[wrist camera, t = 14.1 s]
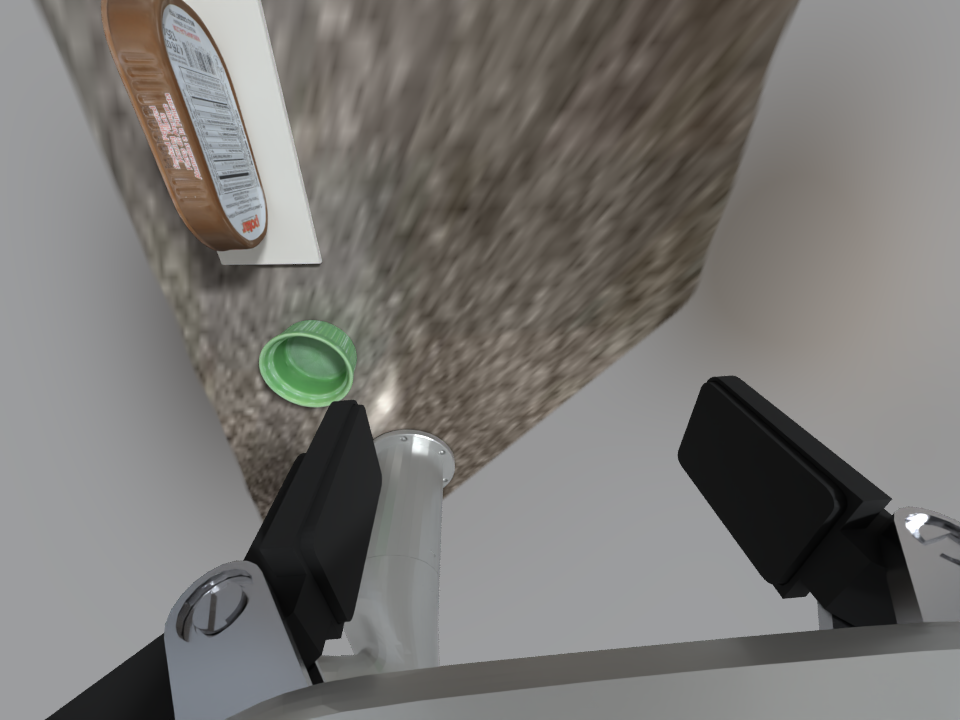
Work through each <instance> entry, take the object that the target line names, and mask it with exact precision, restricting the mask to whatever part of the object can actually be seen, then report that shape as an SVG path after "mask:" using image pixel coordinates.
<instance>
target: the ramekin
mask: <svg viewBox="0 0 960 720" xmlns="http://www.w3.org/2000/svg"><path fill="white" fill-rule="evenodd" d="M356 361H357V355H356V350H355V347H354V345H353V343H352V341H351V339H350V338H349V337H348V336H347V335H346V334H345V333H344V332H343V331H342V330H340V329H339V328H337V327H336V326H334V325H332V324H329V323H327V322H323V321H317V320H307V321H301V322H298V323H295V324H293V325H292V326H290V327H289V328H288V329H286V330H285V331H284V332H283V333H282V334H280V335H278V336H276V337H274V338H273V339H271V340H270V341H269V342H268V343H267V344H266V345H265V346H264V348H263V349H262V351H261V354H260V357H259V368H260V372H261V375H262V377H263V379H264V380H265V382H266V383H267V385H268V386H269V387H270V388H271V389H272V390H273V391H274V392H275V393H277V394H278V395H279V396H281V397H282V398H284V399H286V400H288V401H290V402H292V403H295V404H298V405H301V406H306V407H324V406H329V405H330V404H331V403H332V402H333V401H340V400H341V399H343V398H344V397H345V396H346V395H347V393H348V392H349V391H350V389H351V386H352V383H353V375H354V374H353V373H354V370H355V366H356Z"/></svg>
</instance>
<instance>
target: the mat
mask: <svg viewBox="0 0 960 720" xmlns="http://www.w3.org/2000/svg"><path fill="white" fill-rule="evenodd" d="M183 1H184V2H185V3H186V4H188V5H189V6H190V7H191V8H192V9H193V10H194V11H195V12H196V13H197V15H198V16H199V17H200V18H201V20H202V21H203V23H204V24H205V26H206V27H207V29H208V30H209V32H210V34H211V35H212V37H213V39H214V41H215V43H216V44H217V46H218V48H219V51H220V53H221V55H222V57H223V59H224V61H225V64H226V66H227V69H228V71H229V74H230V77H231V80H232V83H233V86H234V89H235V93H236V96H237V99H238V103H239V106H240V109H241V113H242V116H243V120H244V123H245V126H246V130H247V133H248V137H249V140H250V144H251V147H252V151H253V154H254V158H255V161H256V165H257V168H258V172H259V175H260V179H261V182H262V186H263V190H264V193H265V197H266V203H267V210H268V227H267V233H266V236H265V237H264V239H263V240H262V241H261V242H260V244H259V245H258V246H256V247H255V248H252V249H244V250H228V251H217V253H218V256H219V258H220V261H221V263H222V265H256V264H320V263H321V262H322V259H321V255H320V250H319V246H318V242H317V238H316V233H315V229H314V225H313V221H312V216H311V212H310V208H309V204H308V199H307V195H306V191H305V187H304V182H303V178H302V174H301V170H300V165H299V161H298V157H297V153H296V148H295V144H294V140H293V136H292V131H291V127H290V123H289V119H288V114H287V110H286V106H285V102H284V97H283V93H282V89H281V85H280V80H279V76H278V72H277V68H276V63H275V59H274V55H273V51H272V46H271V42H270V38H269V34H268V29H267V25H266V21H265V17H264V12H263V8H262V4H261V0H183Z"/></svg>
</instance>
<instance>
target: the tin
mask: <svg viewBox="0 0 960 720" xmlns="http://www.w3.org/2000/svg"><path fill="white" fill-rule="evenodd" d="M101 16H102V23H103V29H104V33H105V36H106V40H107V43H108V46H109V49H110V52H111V55H112V58H113V60H114V62H115V65H116V67H117V70H118V72H119V74H120V77H121V79H122V81H123V84H124V86H125V88H126V91H127V93H128V96H129V98H130V101H131V103H132V106H133V108H134V110H135V113H136V115H137V117H138V119H139V122H140V124H141V127H142V129H143V131H144V134H145V136H146V139H147V141H148V143H149V146H150V148H151V151H152V153H153V155H154V158H155V160H156V163H157V165H158V168H159V170H160V173H161V175H162V177H163V180H164V182H165V185H166V187H167V190H168V192H169V195H170V197H171V199H172V201H173V204H174V206H175V208H176V210H177V212H178V214H179V216H180V217H181V219H182V220H183V222H184V223H185V225H186V226H187V228H188V229H189V230H190V231H191V232H192V234H193V235H194V236H195V237H196V238H197V239H198V240H199V241H200V242H201V243H203V244H204V245H206V246H207V247H209V248H211V249H213V250H216V251H228V250H244V249H252V248H255V247H256V246H258V245H259V244H260V242H261V241H262V240H263V239H264V237H265V236H266V233H267V227H268V210H267V203H266V197H265V193H264V190H263V186H262V182H261V179H260V175H259V172H258V168H257V165H256V161H255V158H254V154H253V151H252V147H251V144H250V140H249V137H248V133H247V130H246V126H245V123H244V120H243V116H242V113H241V109H240V106H239V103H238V99H237V96H236V93H235V89H234V86H233V83H232V80H231V77H230V74H229V71H228V69H227V66H226V64H225V61H224V59H223V57H222V55H221V53H220V51H219V48H218V46H217V44H216V43H215V41H214V39H213V37H212V35H211V34H210V32H209V30H208V29H207V27H206V26H205V24H204V23H203V21H202V20H201V18H200V17H199V16H198V15H197V13H196V12H195V11H194V10H193V9H192V8H191V7H190V6H189V5H188V4H186V3H185V2H184V1H183V0H101Z"/></svg>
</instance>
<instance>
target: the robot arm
mask: <svg viewBox="0 0 960 720" xmlns="http://www.w3.org/2000/svg"><path fill="white" fill-rule="evenodd" d="M678 460H679V462H680V464H681V466H682V467H683V469H684V470H685V471H686V472H687V474H688V475H689V477H690V478H691V479H692V481H693V482H694V484H695V485H696V486H697V488H698V489H699V491H700V492H701V493H702V495H703V496H704V498H705V499H706V500H707V502H708V503H709V504H710V506H711V507H712V509H713V510H714V511H715V513H716V514H717V516H718V517H719V518H720V520H721V521H722V522H723V524H724V525H725V526H726V528H727V529H728V530H729V532H730V533H731V535H732V536H733V538H734V539H735V540H736V542H737V543H738V544H739V546H740V547H741V549H742V550H743V551H744V553H745V554H746V555H747V557H748V558H749V560H750V561H751V562H752V564H753V565H754V566H755V568H756V569H757V571H758V572H759V573H760V575H761V576H762V577H763V578H764V580H766V581H767V582H768V583H770V584H773V586H774V587H775V589H776V590H777V591H778V593H779V594H780V595H781V597H782V598H783V599H785V598H796V597H805V596H807V594H808V593H809V592H811V593H812V595H813V596H814V597H815V598H816V599H817V604H818V618H819V630H817V631H806V632H795V633H783V634H773V635H760V636H750V637H738V638H728V639H716V640H706V641H694V642H684V643H673V644H664V645H663V644H662V645H652V646H642V647H631V648H620V649H610V650H599V651H590V652H589V651H588V652H578V653H568V654H558V655H548V656H538V657H527V658H518V659H508V660H498V661H487V662H477V663H468V664H457V665H449V666H440V659H439V641H438V640H439V634H438V610H439V577H440V550H441V548H440V547H441V522H442V495H443V488H444V487H445V486H446V485H447V484H448V483H449V482H450V480H451V479H452V477H453V474H454V470H455V459H454V455H453V452H452V451H451V449H450V448H449V446H448V445H447V444H446V443H445V442H444V441H442V440H441V439H439V438H438V437H436V436H434V435H432V434H429V433H426V432H423V431H418V430H397V431H391V432H388V433H385V434H383V435H381V436H379V437H377V438H376V439H374V440H373V438H372V434H371V430H370V426H369V422H368V418H367V414H366V410H365V407H364V405H358V404H357V402H356V400H344V401H333V402H332V403H331V404H330V406H329V408H328V410H327V412H326V414H325V416H324V418H323V420H322V422H321V424H320V426H319V428H318V430H317V432H316V434H315V436H314V438H313V440H312V442H311V444H310V447H309V449H308V451H307V453H302V454H300V455H299V456H298V457H297V459H296V460H295V462H294V464H293V466H292V467H291V469H290V471H289V473H288V475H287V477H286V479H285V481H284V483H283V485H282V487H281V489H280V491H279V493H278V495H277V496H276V498H275V500H274V502H273V504H272V506H271V508H270V510H269V512H268V514H267V516H266V518H265V520H264V522H263V524H262V526H261V528H260V529H259V532H258V533H257V535H256V537H255V539H254V541H253V543H252V545H251V547H250V549H249V551H248V553H247V555H246V557H245V559H244V560H243V561H234V562H230V563H226V564H223V565H220V566H218V567H216V568H214V569H213V570H211V571H209V572H207V573H206V574H204V575H203V576H202V577H200V578H199V579H198V580H196V581H195V582H194V583H193V584H192V585H191V586H190V587H189V588H188V589H187V590H186V591H185V592H184V593H183V594H182V595H181V596H180V598H179V599H178V601H177V602H176V604H175V605H174V606H173V608H172V609H171V611H170V614H169V616H168V619H167V621H166V623H165V632H164V633H163V634H162V635H161V636H159V637H158V638H156V639H155V640H154V641H152V642H151V643H150V644H148V645H147V646H146V647H144V648H143V649H141V650H140V651H139V652H137V653H136V654H135V655H133V656H132V657H131V658H129V659H128V660H126V661H125V662H124V663H122V664H121V665H119V666H118V667H117V668H115V669H114V670H113V671H111V672H110V673H109V674H107V675H106V676H104V677H103V678H102V679H100V680H99V681H98V682H96V683H95V684H93V685H92V686H91V687H89V688H88V689H87V690H85V691H84V692H82V693H81V694H80V695H78V696H77V697H76V698H74V699H73V700H72V701H70V702H69V703H68V704H66V705H65V706H63V707H62V708H60V709H59V710H58V711H56V712H55V713H54V714H52V715H51V716H50V717H48V718H47V719H45V720H960V522H959V521H957V520H955V519H952V518H950V517H948V516H945V515H943V514H940V513H938V512H934V511H931V510H927V509H923V508H917V507H905V508H899V509H898V510H897V511H896V512H895V513H894V514H893V515H891V514H890V513H888V512H887V511H886V510H885V509H884V508H885V506H886V505H887V504H888V503H889V502H890V501H891V500H892V498H890V497H889V496H888V495H887V494H885V493H884V492H883V491H882V490H880V489H879V488H878V487H876V486H875V485H874V484H873V483H871V482H870V481H869V480H868V479H866V478H865V477H864V476H863V475H861V474H860V473H859V472H857V471H856V470H855V469H854V468H852V467H851V466H850V465H849V464H847V463H846V462H845V461H843V460H842V459H841V458H840V457H838V456H837V455H836V454H835V453H833V452H832V451H831V450H829V449H828V448H827V447H826V446H825V445H823V444H822V443H821V442H819V441H818V440H817V439H816V438H814V437H813V436H812V435H811V434H809V433H808V432H807V431H806V430H804V429H803V428H802V427H801V426H799V425H798V424H797V423H795V422H794V421H793V420H792V419H790V418H789V417H788V416H787V415H785V414H784V413H783V412H782V411H780V410H779V409H778V408H777V407H775V406H774V405H773V404H771V403H770V402H769V401H768V400H766V399H765V398H764V397H762V396H761V395H760V394H759V393H758V392H756V391H755V390H754V389H752V388H751V387H750V386H749V385H747V384H746V383H745V382H744V381H742V380H741V379H740V378H738V377H736V376H721V377H712V378H710V379H709V380H708V381H707V383H704V384H703V386H702V387H701V390H700V393H699V395H698V398H697V401H696V404H695V406H694V409H693V412H692V415H691V417H690V420H689V423H688V426H687V429H686V431H685V434H684V437H683V440H682V442H681V445H680V448H679V450H678ZM343 628H344V631H345V633H346V636H347V638H348V641H349V643H350V645H351V648H352V650H353V652H354V655H341V656H325V655H324V656H323V655H322V651H323V648H324V644H325V640H329V639H339V638H341V635H342V631H343Z"/></svg>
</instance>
